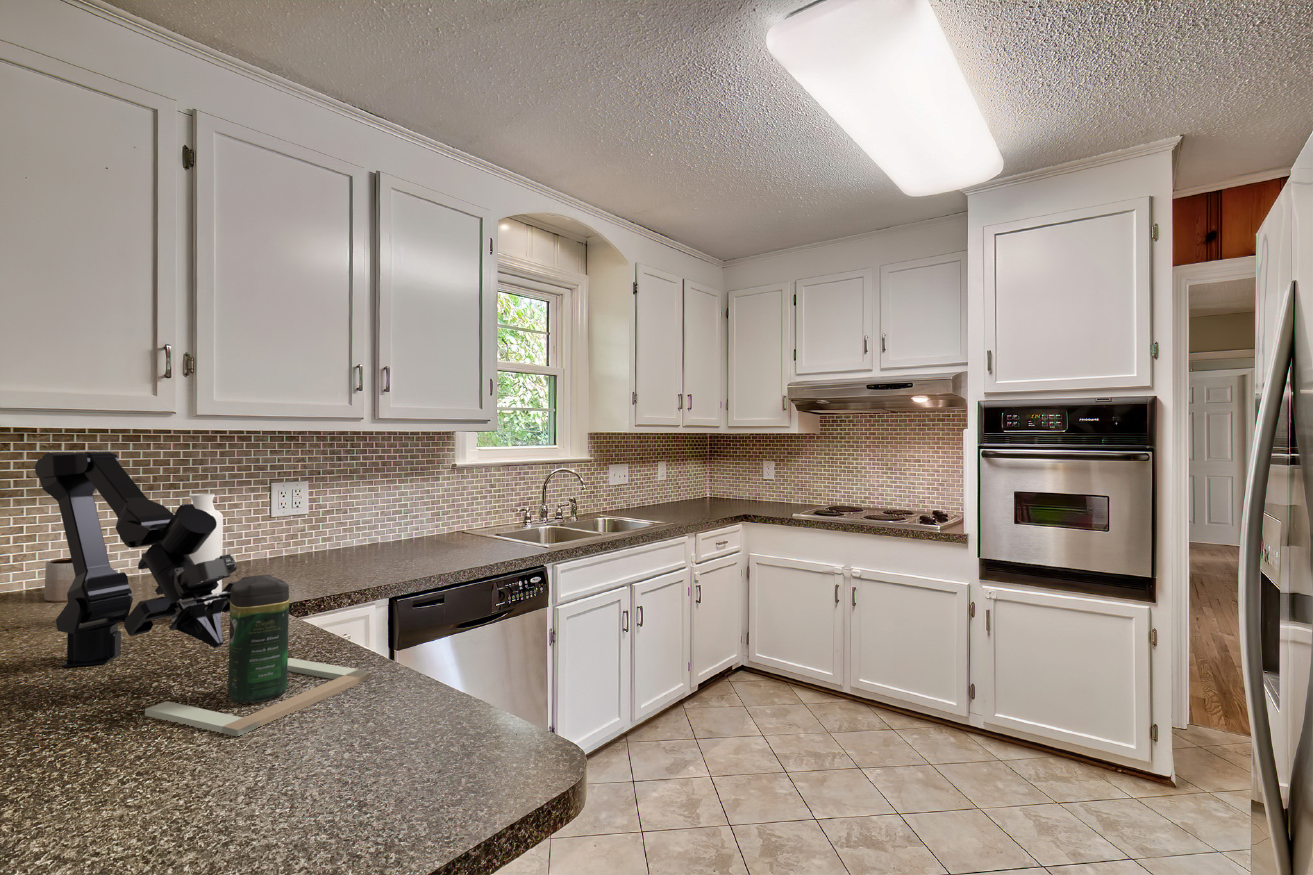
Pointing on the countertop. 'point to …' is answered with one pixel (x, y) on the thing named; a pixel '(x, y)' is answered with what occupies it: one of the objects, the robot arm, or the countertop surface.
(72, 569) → the planter
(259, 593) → the coffee jar
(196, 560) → the bottle
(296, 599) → the countertop surface
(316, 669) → the frame
